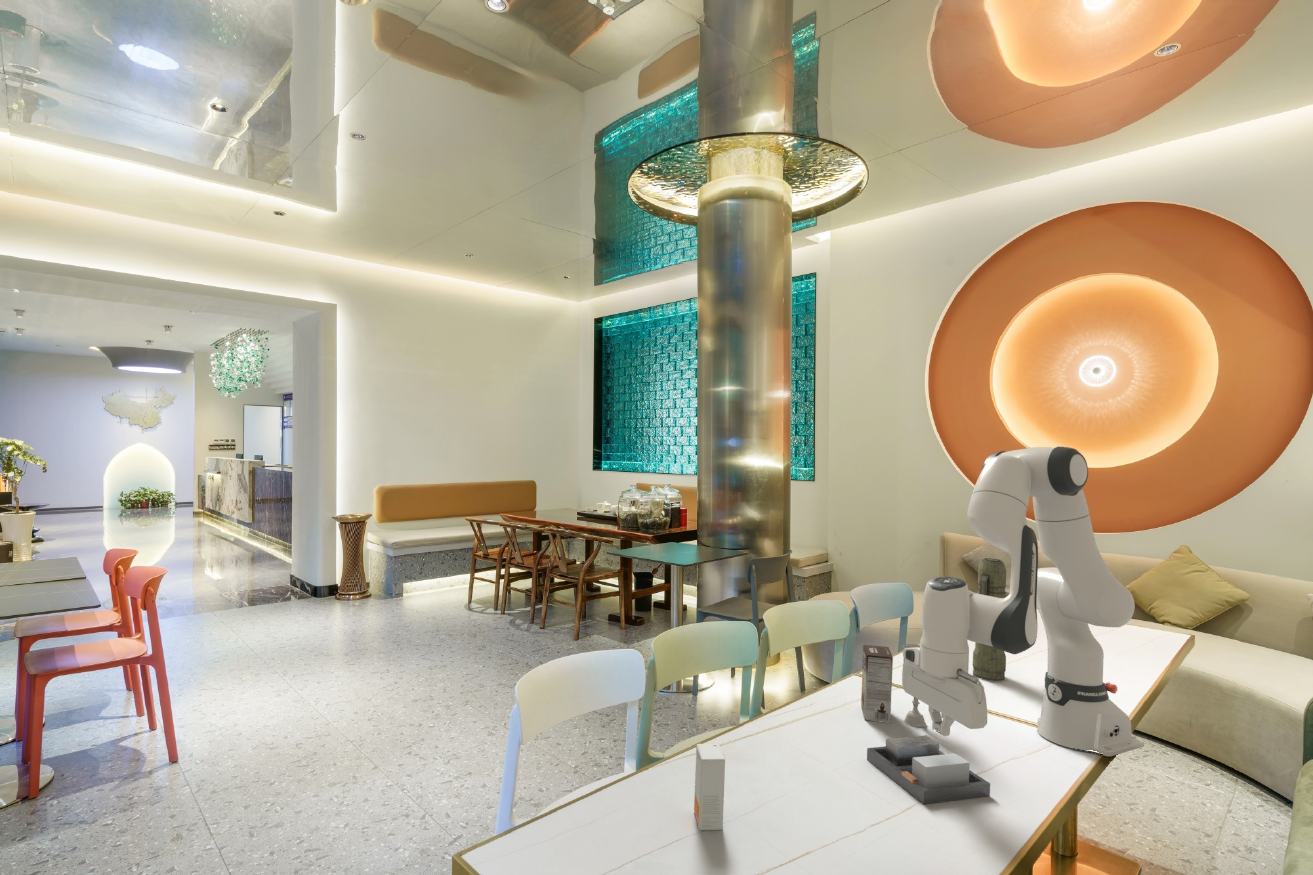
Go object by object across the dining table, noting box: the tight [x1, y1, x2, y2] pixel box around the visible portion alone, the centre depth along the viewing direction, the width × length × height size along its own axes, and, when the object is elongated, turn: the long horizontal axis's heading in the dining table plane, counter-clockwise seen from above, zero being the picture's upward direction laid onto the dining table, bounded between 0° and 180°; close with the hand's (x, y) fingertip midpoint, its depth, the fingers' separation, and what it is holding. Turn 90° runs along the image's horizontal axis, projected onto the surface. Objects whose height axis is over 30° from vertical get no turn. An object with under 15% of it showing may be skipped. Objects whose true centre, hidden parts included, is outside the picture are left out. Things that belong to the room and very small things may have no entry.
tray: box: [866, 734, 991, 805], centre depth 133 cm, size 15×18×5 cm
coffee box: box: [860, 644, 894, 724], centre depth 164 cm, size 9×6×16 cm
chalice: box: [901, 643, 927, 728], centre depth 161 cm, size 7×7×18 cm
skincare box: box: [693, 743, 726, 831], centre depth 114 cm, size 6×4×12 cm
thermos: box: [972, 557, 1007, 682], centre depth 199 cm, size 9×12×35 cm
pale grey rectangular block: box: [912, 753, 970, 788], centre depth 129 cm, size 10×4×4 cm, turn 106°
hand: (940, 732), depth 129 cm, fingers closed
